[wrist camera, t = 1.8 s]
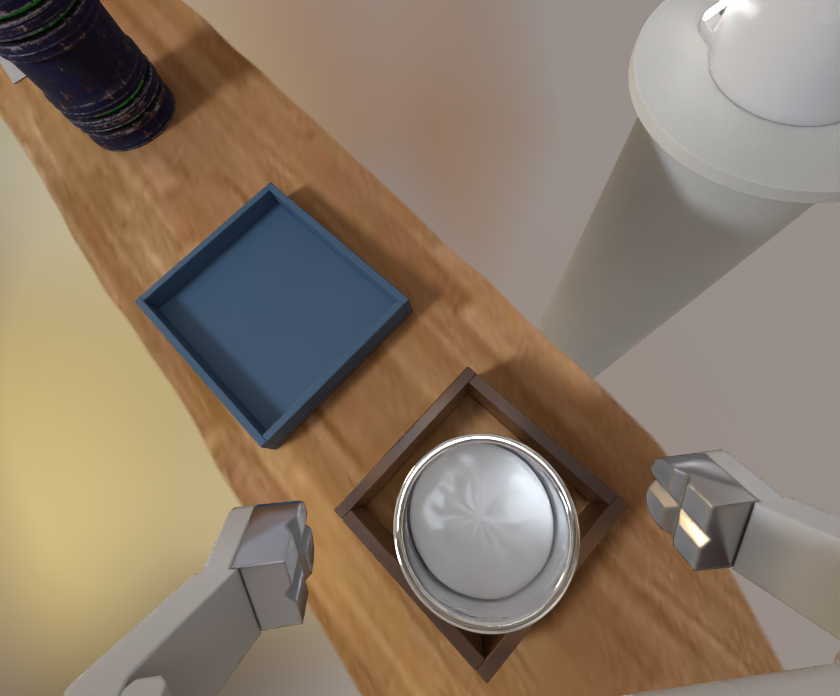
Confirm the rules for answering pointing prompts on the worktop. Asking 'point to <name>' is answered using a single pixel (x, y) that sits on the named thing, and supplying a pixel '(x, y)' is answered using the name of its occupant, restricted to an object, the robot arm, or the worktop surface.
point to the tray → (273, 313)
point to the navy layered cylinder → (87, 69)
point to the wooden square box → (604, 502)
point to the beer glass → (486, 533)
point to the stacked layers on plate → (11, 70)
